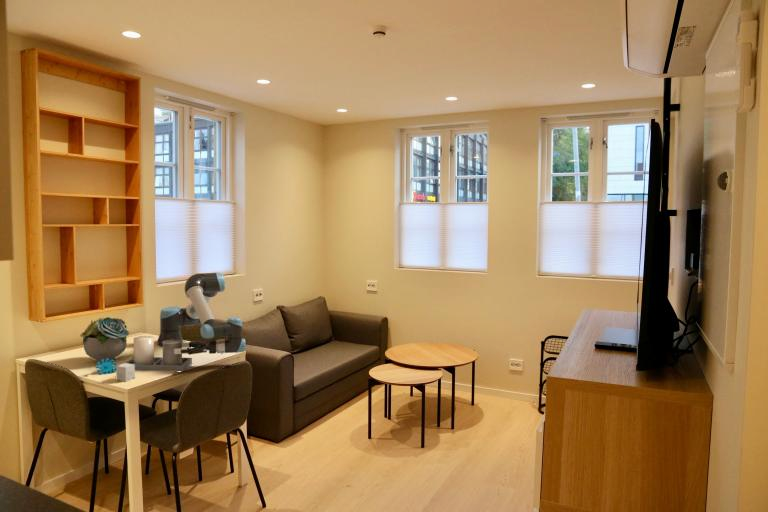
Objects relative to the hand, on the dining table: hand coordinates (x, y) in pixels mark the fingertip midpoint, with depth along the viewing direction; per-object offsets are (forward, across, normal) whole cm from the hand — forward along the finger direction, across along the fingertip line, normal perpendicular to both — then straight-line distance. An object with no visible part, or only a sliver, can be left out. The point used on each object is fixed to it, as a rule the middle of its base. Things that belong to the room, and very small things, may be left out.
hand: (175, 348), depth 284 cm
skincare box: (+22, -16, -11) cm, 29 cm away
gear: (+32, -5, -11) cm, 34 cm away
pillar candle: (+2, 0, -10) cm, 10 cm away
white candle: (+16, +4, -10) cm, 19 cm away
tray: (+9, +2, -11) cm, 14 cm away
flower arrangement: (+38, +21, -11) cm, 45 cm away
